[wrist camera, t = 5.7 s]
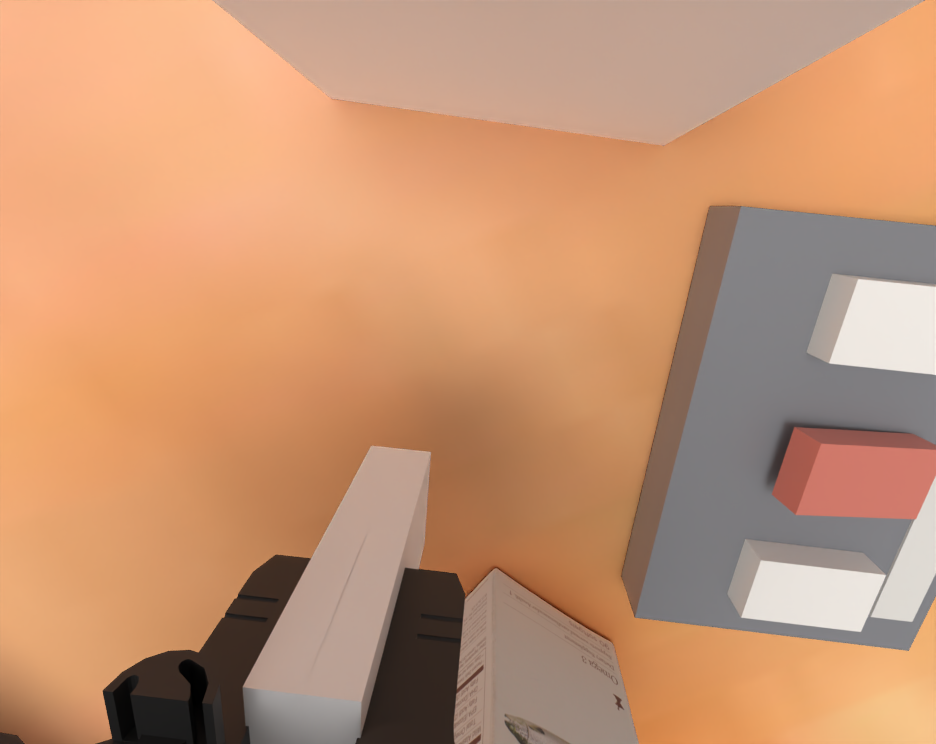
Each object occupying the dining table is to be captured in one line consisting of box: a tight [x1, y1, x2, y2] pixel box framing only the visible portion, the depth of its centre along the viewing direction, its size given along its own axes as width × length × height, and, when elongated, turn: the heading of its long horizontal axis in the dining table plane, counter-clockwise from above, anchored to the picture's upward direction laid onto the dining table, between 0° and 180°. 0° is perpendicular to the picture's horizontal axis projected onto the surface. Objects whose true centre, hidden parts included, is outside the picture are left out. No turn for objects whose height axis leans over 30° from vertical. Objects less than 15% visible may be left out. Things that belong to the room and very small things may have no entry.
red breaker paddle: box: [772, 427, 936, 519], centre depth 17 cm, size 3×4×1 cm, turn 84°
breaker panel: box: [621, 206, 936, 651], centre depth 18 cm, size 16×11×4 cm
